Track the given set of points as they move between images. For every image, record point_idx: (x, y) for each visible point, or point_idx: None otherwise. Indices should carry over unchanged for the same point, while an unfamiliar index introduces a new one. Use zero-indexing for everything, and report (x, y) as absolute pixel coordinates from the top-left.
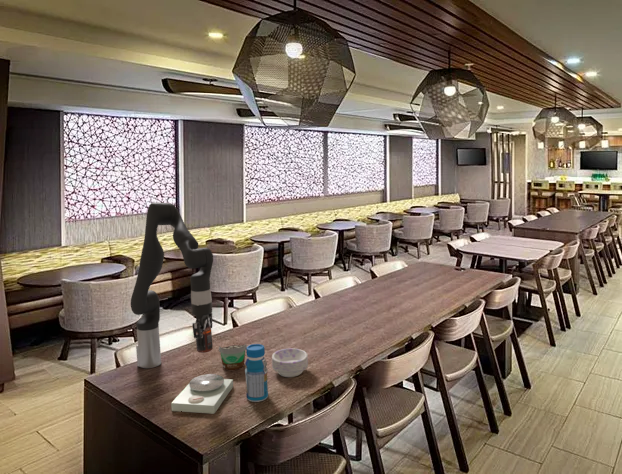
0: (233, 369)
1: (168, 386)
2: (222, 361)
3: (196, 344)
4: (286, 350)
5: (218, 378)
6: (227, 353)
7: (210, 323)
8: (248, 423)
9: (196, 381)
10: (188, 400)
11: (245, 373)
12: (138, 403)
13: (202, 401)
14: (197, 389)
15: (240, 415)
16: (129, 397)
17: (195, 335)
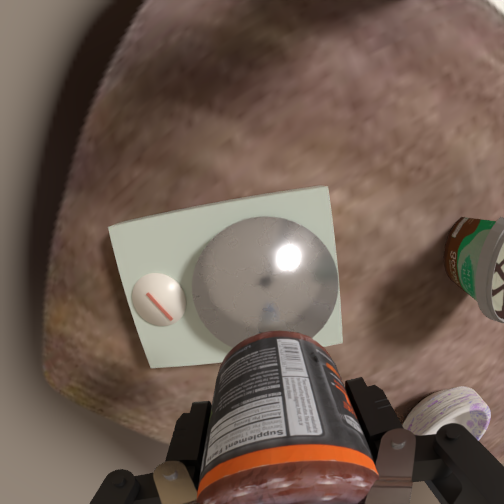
0: (446, 269)
1: (274, 92)
2: (469, 227)
3: (234, 373)
4: (483, 416)
5: (304, 322)
6: (477, 276)
7: (442, 498)
8: (159, 432)
9: (252, 248)
10: (137, 281)
11: None
12: (129, 80)
13: (157, 325)
14: (192, 290)
15: (180, 411)
16: (159, 26)
17: (113, 497)
